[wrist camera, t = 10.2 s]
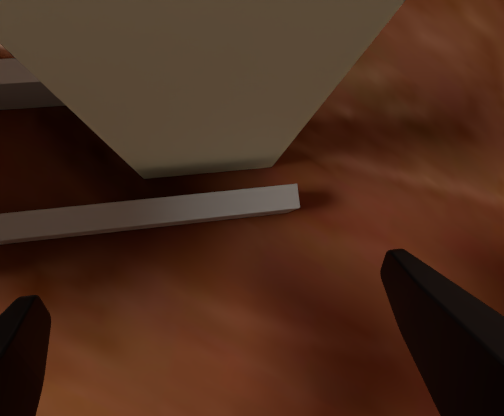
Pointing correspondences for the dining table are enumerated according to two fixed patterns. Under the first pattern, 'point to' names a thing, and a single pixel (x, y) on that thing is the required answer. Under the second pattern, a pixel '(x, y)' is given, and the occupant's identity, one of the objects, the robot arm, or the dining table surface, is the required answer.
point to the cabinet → (125, 212)
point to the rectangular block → (192, 71)
